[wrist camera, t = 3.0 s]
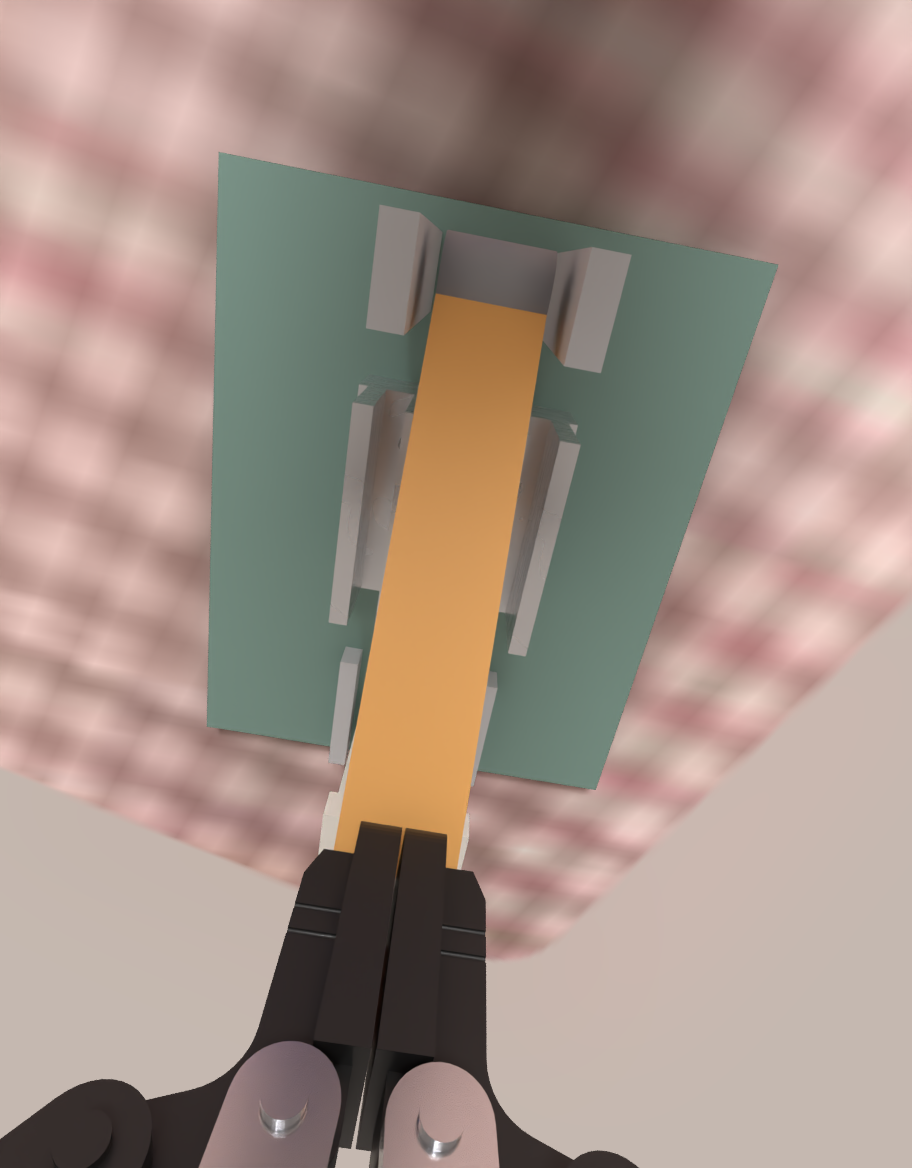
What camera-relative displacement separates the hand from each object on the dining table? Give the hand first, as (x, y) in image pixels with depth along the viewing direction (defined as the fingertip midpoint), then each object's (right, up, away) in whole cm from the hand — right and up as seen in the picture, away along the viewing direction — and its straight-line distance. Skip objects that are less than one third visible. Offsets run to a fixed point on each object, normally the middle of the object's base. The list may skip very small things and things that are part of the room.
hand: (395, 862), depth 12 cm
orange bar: (+1, +6, +2) cm, 6 cm away
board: (+1, +7, +11) cm, 13 cm away
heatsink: (+1, +8, +10) cm, 13 cm away
